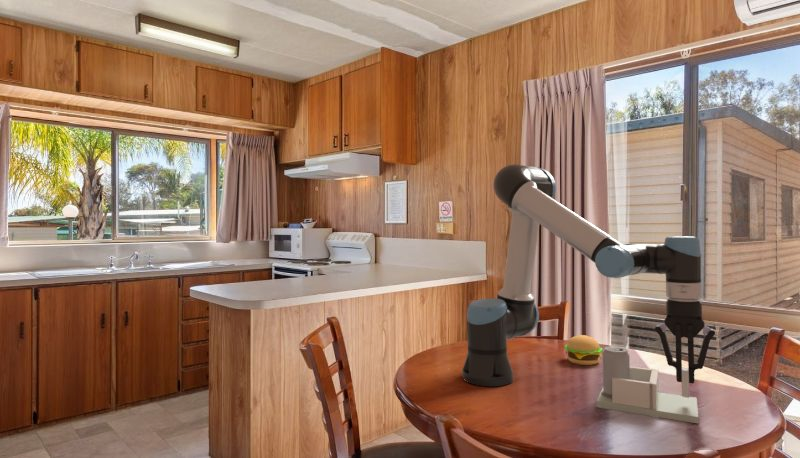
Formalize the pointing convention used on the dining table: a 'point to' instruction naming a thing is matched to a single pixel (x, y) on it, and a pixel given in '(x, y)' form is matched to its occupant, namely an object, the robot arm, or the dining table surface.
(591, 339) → the hamburger
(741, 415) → the dining table surface
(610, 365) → the beverage can
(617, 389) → the housing
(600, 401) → the board
